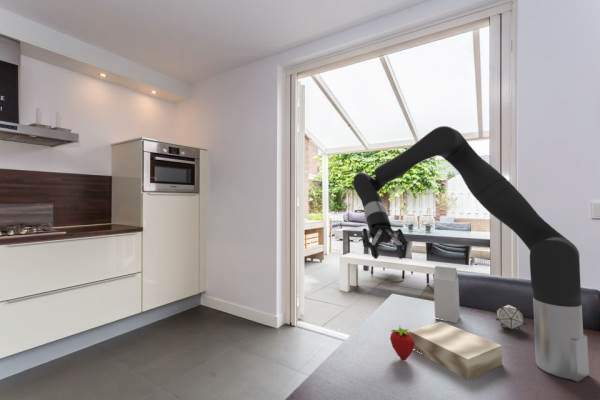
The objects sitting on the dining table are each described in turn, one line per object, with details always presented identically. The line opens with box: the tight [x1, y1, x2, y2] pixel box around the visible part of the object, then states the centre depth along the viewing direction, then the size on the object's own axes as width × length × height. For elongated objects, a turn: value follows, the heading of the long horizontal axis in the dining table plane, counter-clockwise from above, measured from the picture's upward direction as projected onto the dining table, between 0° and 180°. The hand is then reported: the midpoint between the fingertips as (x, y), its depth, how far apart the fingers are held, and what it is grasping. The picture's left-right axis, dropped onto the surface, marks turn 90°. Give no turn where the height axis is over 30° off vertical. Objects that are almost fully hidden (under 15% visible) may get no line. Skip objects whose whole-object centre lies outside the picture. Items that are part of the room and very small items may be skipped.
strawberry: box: [389, 326, 415, 362], centre depth 78 cm, size 6×8×10 cm
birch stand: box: [408, 321, 503, 381], centre depth 80 cm, size 18×14×5 cm
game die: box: [494, 301, 528, 333], centre depth 96 cm, size 9×8×10 cm
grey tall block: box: [433, 265, 461, 324], centre depth 106 cm, size 7×7×19 cm
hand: (389, 257), depth 91 cm, fingers open, 8 cm apart
